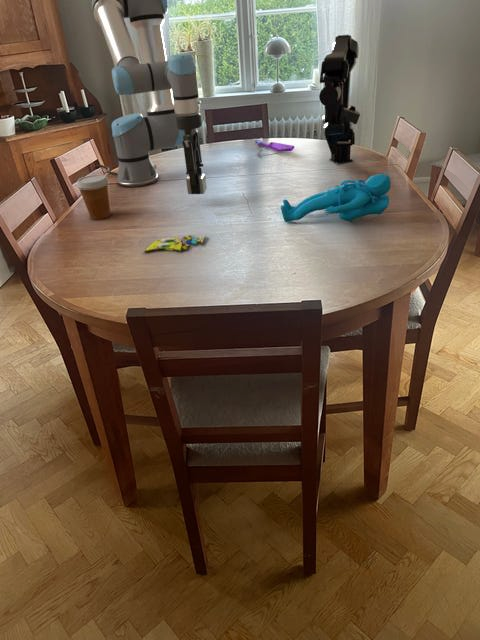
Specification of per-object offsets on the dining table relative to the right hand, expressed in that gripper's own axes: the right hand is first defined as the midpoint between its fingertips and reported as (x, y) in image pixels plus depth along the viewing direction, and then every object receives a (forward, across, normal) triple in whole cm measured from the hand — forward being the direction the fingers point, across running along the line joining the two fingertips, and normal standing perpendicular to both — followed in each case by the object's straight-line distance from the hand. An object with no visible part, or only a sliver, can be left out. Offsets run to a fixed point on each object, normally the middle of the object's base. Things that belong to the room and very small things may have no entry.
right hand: (332, 150), depth 163 cm
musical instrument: (+10, +44, +25) cm, 52 cm away
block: (+6, -21, +44) cm, 49 cm away
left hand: (+5, -21, +44) cm, 49 cm away
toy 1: (+10, -53, +44) cm, 70 cm away
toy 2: (+10, -38, +1) cm, 40 cm away
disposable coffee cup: (+10, -29, +74) cm, 81 cm away
